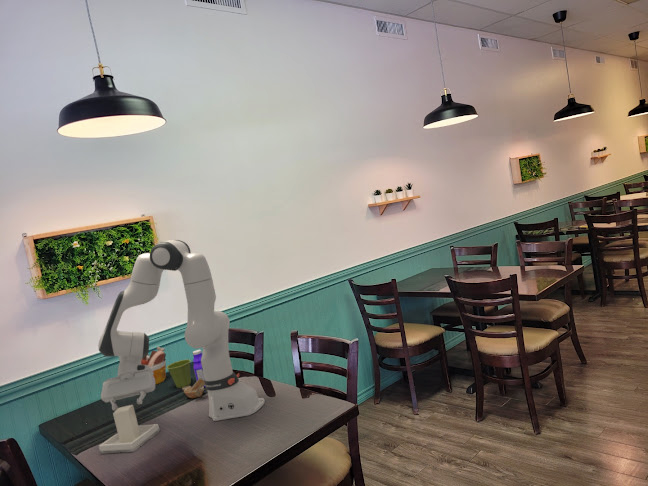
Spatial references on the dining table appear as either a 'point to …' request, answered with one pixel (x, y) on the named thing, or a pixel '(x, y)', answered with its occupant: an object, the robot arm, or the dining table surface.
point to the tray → (116, 447)
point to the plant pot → (180, 373)
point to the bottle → (198, 365)
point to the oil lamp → (195, 389)
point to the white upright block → (126, 424)
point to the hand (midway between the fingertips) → (127, 406)
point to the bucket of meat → (156, 364)
